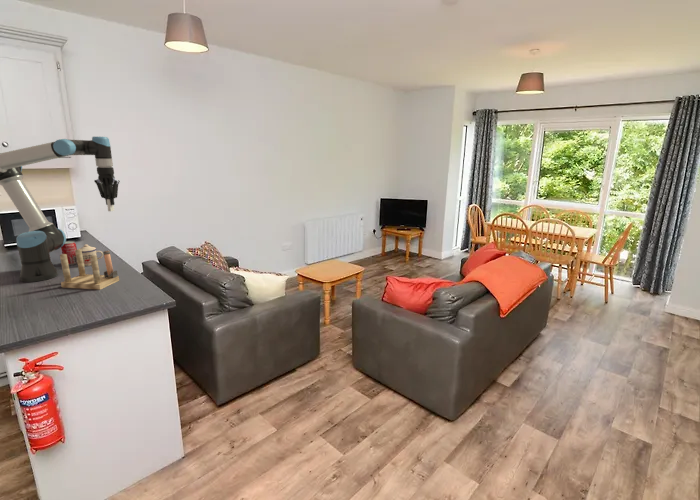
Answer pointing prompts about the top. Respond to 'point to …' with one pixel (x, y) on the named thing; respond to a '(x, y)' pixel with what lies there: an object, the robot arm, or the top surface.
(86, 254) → the teacup with lid
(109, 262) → the folding leg
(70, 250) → the soda can
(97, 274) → the stool
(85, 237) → the top surface
